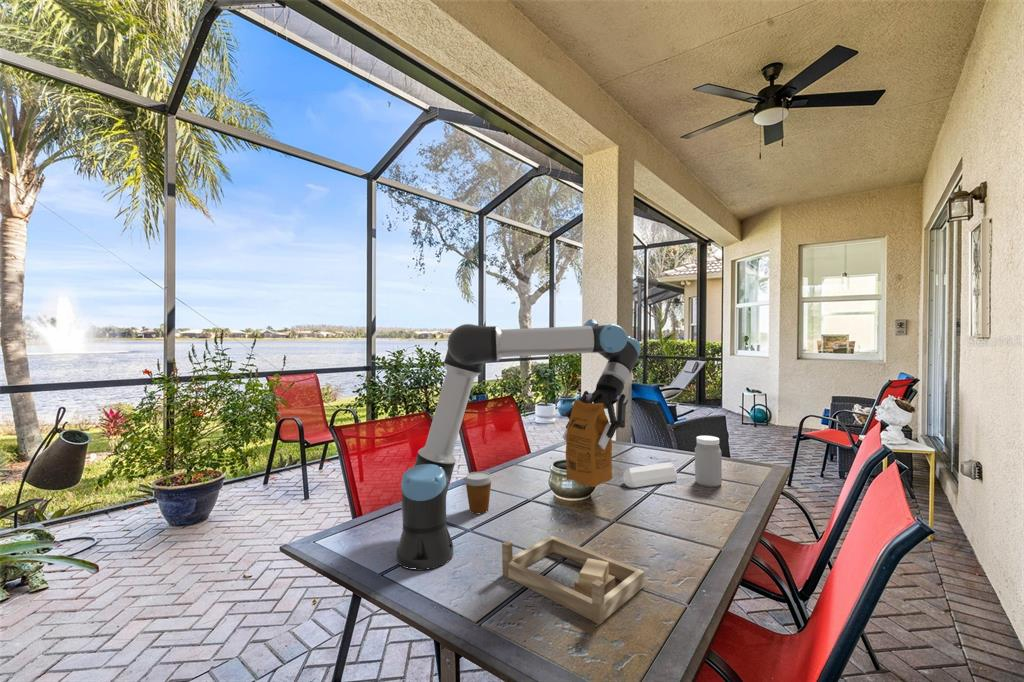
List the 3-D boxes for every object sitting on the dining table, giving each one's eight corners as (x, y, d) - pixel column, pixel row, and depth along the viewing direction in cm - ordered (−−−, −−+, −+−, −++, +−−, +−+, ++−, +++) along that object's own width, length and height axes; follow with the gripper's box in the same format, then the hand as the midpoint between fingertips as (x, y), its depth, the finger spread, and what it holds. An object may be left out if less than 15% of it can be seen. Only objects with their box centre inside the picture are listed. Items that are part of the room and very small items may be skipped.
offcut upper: (602, 590, 101) (601, 576, 100) (580, 585, 103) (579, 572, 103) (608, 574, 107) (608, 562, 107) (588, 570, 109) (587, 558, 109)
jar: (689, 481, 179) (688, 436, 179) (707, 478, 184) (706, 434, 183) (709, 489, 171) (708, 441, 170) (727, 485, 175) (727, 438, 174)
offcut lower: (596, 605, 100) (596, 591, 100) (574, 594, 104) (574, 581, 104) (615, 589, 106) (615, 576, 106) (593, 580, 110) (593, 568, 110)
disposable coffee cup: (480, 518, 147) (479, 481, 147) (459, 512, 153) (458, 476, 153) (498, 509, 155) (498, 474, 155) (477, 503, 161) (477, 469, 160)
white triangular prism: (666, 465, 189) (616, 472, 181) (676, 461, 183) (625, 468, 175) (672, 483, 186) (622, 491, 177) (682, 479, 180) (631, 487, 172)
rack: (599, 624, 93) (599, 586, 92) (502, 575, 112) (502, 543, 112) (645, 586, 106) (644, 552, 106) (551, 548, 126) (551, 519, 126)
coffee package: (586, 471, 134) (584, 396, 133) (617, 482, 123) (616, 401, 123) (560, 477, 128) (558, 400, 128) (591, 490, 118) (589, 405, 117)
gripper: (654, 392, 128) (626, 458, 117) (585, 386, 144) (555, 444, 134) (644, 374, 124) (614, 441, 113) (574, 371, 140) (543, 429, 130)
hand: (582, 443), depth 123 cm, fingers closed on coffee package, 11 cm apart
